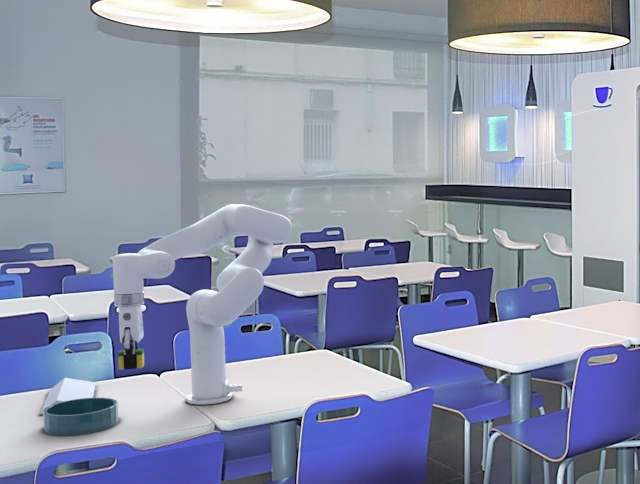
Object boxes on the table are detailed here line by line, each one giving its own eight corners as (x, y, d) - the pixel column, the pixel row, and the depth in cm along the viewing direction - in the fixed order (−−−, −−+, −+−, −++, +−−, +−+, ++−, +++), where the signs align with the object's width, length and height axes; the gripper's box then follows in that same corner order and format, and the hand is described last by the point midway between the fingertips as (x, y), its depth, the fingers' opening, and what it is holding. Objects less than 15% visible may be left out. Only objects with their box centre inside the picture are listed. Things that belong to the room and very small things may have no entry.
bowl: (122, 413, 239) (122, 395, 239) (111, 432, 222) (110, 412, 222) (53, 418, 236) (52, 400, 235) (36, 438, 218) (35, 418, 218)
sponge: (144, 364, 239) (143, 348, 239) (142, 367, 235) (141, 351, 235) (121, 366, 238) (120, 349, 238) (118, 369, 234) (118, 352, 234)
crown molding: (90, 409, 244) (89, 396, 244) (41, 415, 240) (40, 402, 239) (93, 386, 271) (93, 374, 271) (50, 391, 267) (49, 379, 266)
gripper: (139, 303, 229) (142, 372, 229) (148, 294, 245) (150, 359, 246) (108, 304, 227) (111, 375, 228) (119, 295, 243) (122, 361, 244)
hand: (131, 366), depth 237 cm, fingers closed on sponge, 4 cm apart
